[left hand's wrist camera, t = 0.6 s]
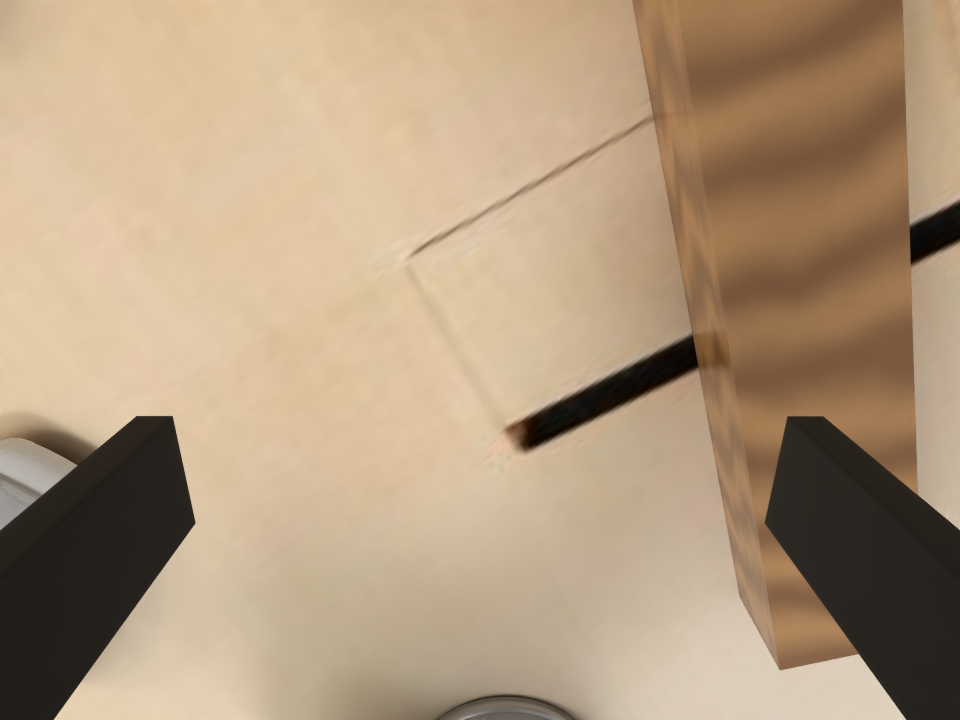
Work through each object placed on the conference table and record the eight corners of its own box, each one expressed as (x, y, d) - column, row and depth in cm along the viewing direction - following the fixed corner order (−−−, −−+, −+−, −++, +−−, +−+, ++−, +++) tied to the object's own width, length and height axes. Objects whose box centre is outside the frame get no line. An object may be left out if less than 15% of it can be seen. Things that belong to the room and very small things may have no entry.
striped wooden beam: (862, 570, 45) (922, 641, 39) (739, 597, 46) (779, 670, 40) (757, -785, 21) (867, -1149, 15) (512, -667, 23) (524, -963, 16)
